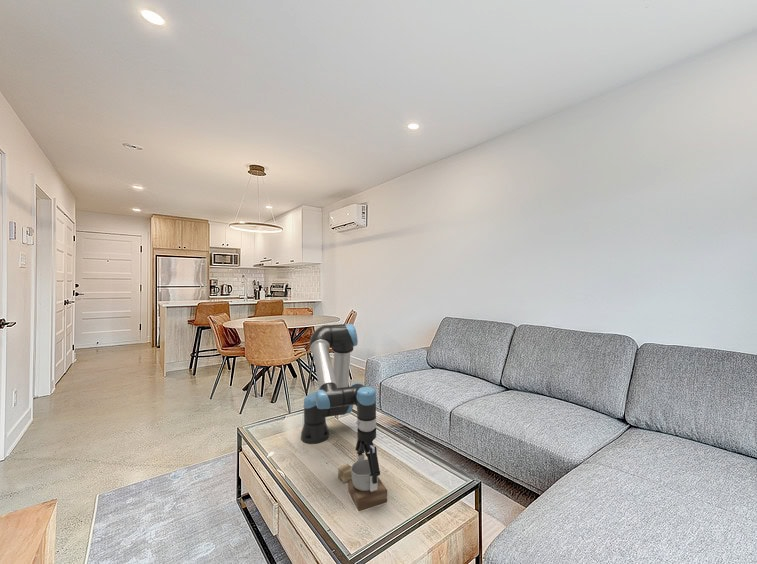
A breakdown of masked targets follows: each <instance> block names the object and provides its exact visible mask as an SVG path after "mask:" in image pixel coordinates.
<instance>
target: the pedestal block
mask: <svg viewBox="0 0 757 564" xmlns="http://www.w3.org/2000/svg"><path fill="white" fill-rule="evenodd" d="M347 487H348V488H347V490H348V492H349V494H350V496H351V498H352V500H353V502H354V504H355V506H356V508H357V510H358V512H359V511H362V510H365V509H368V508H371V507H374V506H377V505H380V504H383V503H386V502H387V500H388V489H387V488H386V486H385V485H384V483H383V482H382V480H381V479H380V477H379V476H378V482H377V490H375V491H372V492H371V491H370V490H369V491H360V490H359V489H357V488H355V486H354V485H353V482H352V479H350V480H348V483H347ZM371 509H372V508H371ZM368 510H369V509H368ZM365 511H366V510H365ZM362 512H363V511H362ZM359 513H360V512H359Z"/></svg>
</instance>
